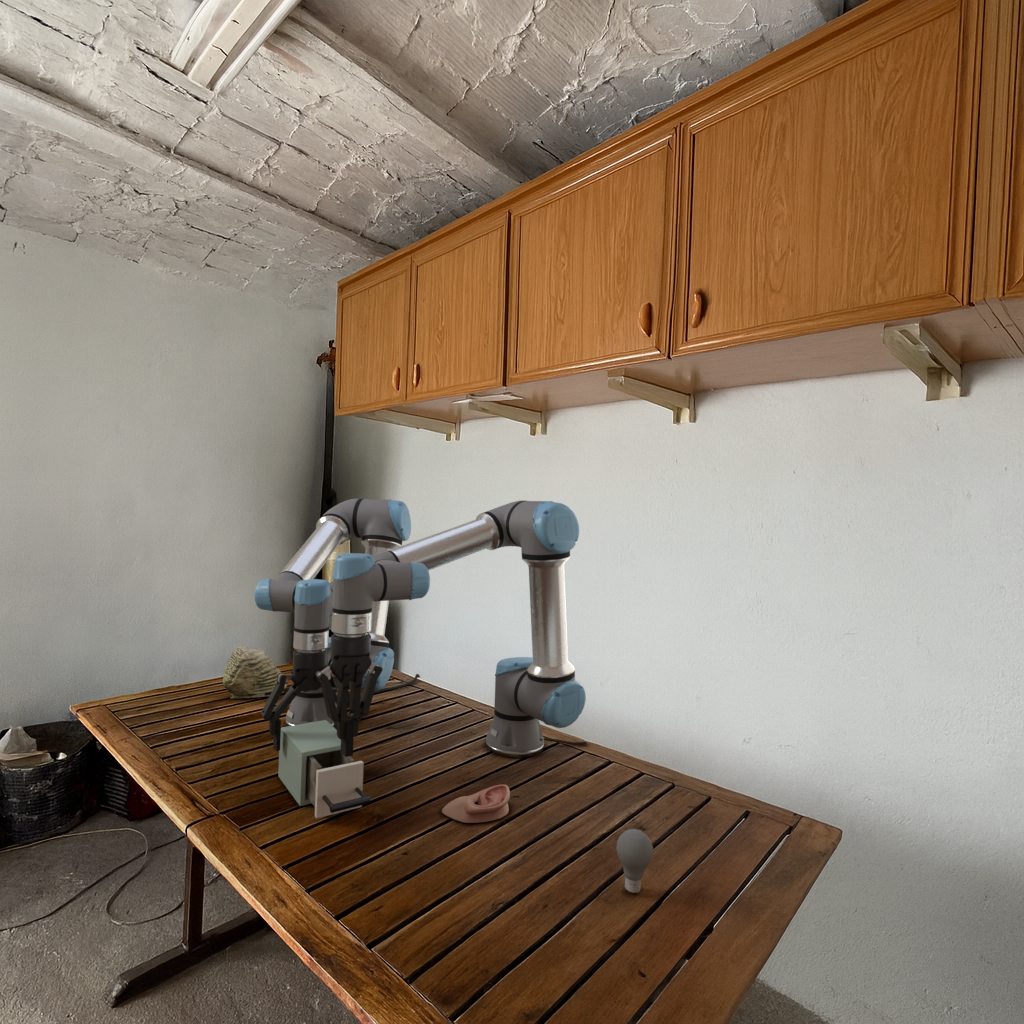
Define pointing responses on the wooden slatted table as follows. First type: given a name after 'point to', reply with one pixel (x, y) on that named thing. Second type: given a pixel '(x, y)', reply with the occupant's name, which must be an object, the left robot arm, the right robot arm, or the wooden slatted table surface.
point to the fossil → (250, 673)
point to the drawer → (334, 783)
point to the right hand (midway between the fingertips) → (346, 753)
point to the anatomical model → (480, 805)
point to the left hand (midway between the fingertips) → (307, 742)
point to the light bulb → (634, 857)
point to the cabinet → (303, 753)
